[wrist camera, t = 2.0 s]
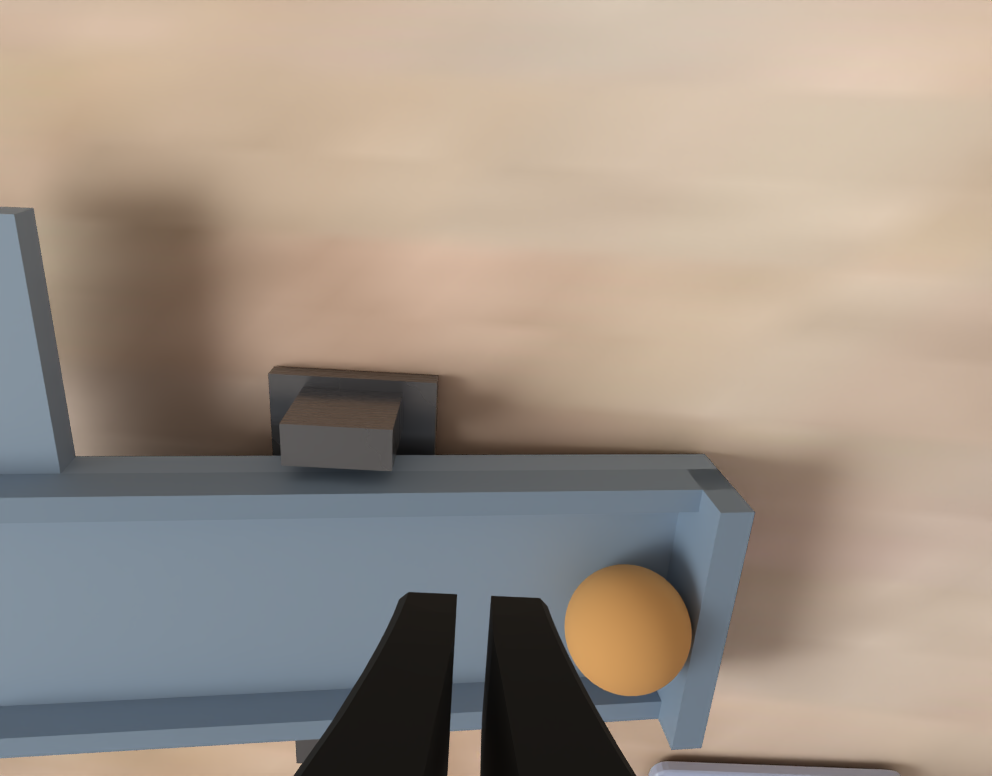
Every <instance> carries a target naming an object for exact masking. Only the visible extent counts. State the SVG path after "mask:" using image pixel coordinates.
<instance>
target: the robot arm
mask: <svg viewBox="0 0 992 776" xmlns="http://www.w3.org/2000/svg"><path fill="white" fill-rule="evenodd" d="M456 609H457V594H443V593H421V592H408V593H406V594H405V595H404V596H403V597H401V598H400V599H399V601H398V603H397V606H396V609H395V611H394V613H393V616H392V618H391V620H390V622H389V624H388V626H387V628H386V630H385V632H384V634H383V636H382V638H381V640H380V642H379V644H378V646H377V648H376V649H375V651H374V653H373V655H372V657H371V658H370V660H369V662H368V664H367V665H366V667H365V669H364V671H363V672H362V674H361V676H360V677H359V679H358V680H357V682H356V684H355V685H354V687H353V688H352V690H351V692H350V693H349V695H348V696H347V698H346V700H345V701H344V703H343V704H342V706H341V708H340V709H339V711H338V712H337V714H336V716H335V717H334V719H333V720H332V722H331V723H330V725H329V726H328V728H327V729H326V731H325V732H324V734H323V735H322V737H321V738H320V739H319V741H318V742H317V744H316V745H315V746H314V748H313V749H312V751H311V752H310V753H309V755H308V756H307V758H306V759H305V760H304V762H303V763H302V765H301V766H300V767H299V769H298V770H297V772H296V773H295V774H294V776H447V771H448V754H449V737H450V720H451V702H452V683H453V664H454V646H455V627H456ZM480 776H636V774H635V773H634V771H633V770H632V768H631V766H630V765H629V763H628V762H627V760H626V758H625V757H624V755H623V753H622V752H621V750H620V749H619V747H618V745H617V744H616V742H615V740H614V738H613V737H612V735H611V733H610V731H609V730H608V728H607V726H606V724H605V723H604V721H603V719H602V717H601V716H600V714H599V712H598V710H597V709H596V707H595V705H594V703H593V702H592V700H591V698H590V696H589V694H588V692H587V691H586V689H585V687H584V685H583V683H582V681H581V679H580V677H579V675H578V673H577V671H576V669H575V667H574V665H573V663H572V661H571V659H570V657H569V655H568V653H567V651H566V649H565V647H564V645H563V642H562V640H561V638H560V636H559V634H558V631H557V629H556V626H555V624H554V622H553V619H552V617H551V614H550V611H549V608H548V606H547V605H546V604H545V603H544V602H543V601H542V600H541V598H530V597H509V596H491V603H490V617H489V630H488V644H487V657H486V670H485V684H484V697H483V710H482V730H481V772H480ZM649 776H901V775H900V774H899V773H898V772H896V771H893V770H884V769H858V768H832V767H806V766H780V765H754V764H728V763H702V762H676V761H664V762H659V763H657V764H655V765H654V766H653V767H652V768H651V770H650V772H649Z"/></svg>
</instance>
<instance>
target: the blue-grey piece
mask: <svg viewBox="0 0 992 776" xmlns="http://www.w3.org/2000/svg"><path fill="white" fill-rule="evenodd" d="M754 514H755V512H754V511H753V509H752V508H751V507H750V506H749V505H748V504H747V502H746V501H745V500H744V499H743V498H742V497H741V496H740V494H739V493H738V492H737V491H736V490H735V489H734V487H733V486H732V485H731V484H730V483H729V482H728V481H727V479H726V478H725V477H724V476H723V475H722V474H721V472H720V471H719V470H718V469H717V468H716V467H715V466H714V464H713V463H712V462H711V461H710V460H709V459H708V457H707V456H706V455H705V454H589V455H396V458H395V462H394V466H393V470H392V471H376V470H357V469H337V468H318V467H298V466H281V456H75V450H74V445H73V439H72V433H71V427H70V421H69V415H68V409H67V403H66V397H65V391H64V386H63V380H62V374H61V368H60V362H59V356H58V350H57V344H56V338H55V332H54V327H53V321H52V315H51V309H50V303H49V297H48V291H47V285H46V279H45V273H44V268H43V262H42V256H41V250H40V244H39V238H38V232H37V226H36V220H35V214H34V209H33V208H18V207H0V758H12V757H29V756H45V755H62V754H79V753H95V752H112V751H129V750H145V749H162V748H179V747H195V746H212V745H229V744H245V743H262V742H279V741H295V740H312V739H320V738H321V737H322V735H323V734H324V732H325V731H326V729H327V728H328V726H329V725H330V723H331V722H332V720H333V719H334V717H335V716H336V714H337V712H338V711H339V709H340V708H341V706H342V704H343V703H344V701H345V700H346V698H347V696H348V695H349V693H350V692H351V690H352V688H353V687H354V685H355V684H356V682H357V680H358V679H359V677H360V676H361V674H362V672H363V671H364V669H365V667H366V665H367V664H368V662H369V660H370V658H371V657H372V655H373V653H374V651H375V649H376V648H377V646H378V644H379V642H380V640H381V638H382V636H383V634H384V632H385V630H386V628H387V626H388V624H389V622H390V620H391V618H392V616H393V613H394V611H395V609H396V606H397V603H398V601H399V599H400V598H401V597H403V596H404V595H405V594H406V593H408V592H421V593H443V594H457V609H456V627H455V646H454V664H453V683H452V702H451V720H450V731H462V730H479V729H482V710H483V697H484V684H485V670H486V657H487V644H488V630H489V617H490V603H491V596H509V597H530V598H541V600H542V601H543V602H544V603H545V604H546V605H547V606H548V608H549V611H550V614H551V617H552V619H553V622H554V624H555V626H556V629H557V631H558V634H559V636H560V638H561V640H562V642H563V645H564V647H565V649H566V651H567V653H568V655H569V657H570V659H571V661H572V663H573V665H574V667H575V669H576V671H577V673H578V675H579V677H580V679H581V681H582V683H583V685H584V687H585V689H586V691H587V692H588V694H589V696H590V698H591V700H592V702H593V703H594V705H595V707H596V709H597V710H598V712H599V714H600V716H601V717H602V719H603V721H604V722H612V721H629V720H645V719H659V722H660V724H661V726H662V729H663V731H664V733H665V736H666V738H667V740H668V743H669V745H670V747H671V750H678V749H693V748H701V747H702V743H703V738H704V734H705V730H706V725H707V721H708V716H709V712H710V708H711V703H712V699H713V694H714V690H715V686H716V681H717V677H718V673H719V668H720V664H721V659H722V655H723V651H724V646H725V642H726V637H727V633H728V629H729V624H730V620H731V615H732V611H733V607H734V602H735V598H736V593H737V589H738V585H739V580H740V576H741V571H742V567H743V563H744V558H745V554H746V550H747V545H748V541H749V536H750V532H751V528H752V523H753V519H754ZM618 564H630V565H637V566H641V567H644V568H647V569H650V570H652V571H654V572H656V573H657V574H659V575H661V576H662V577H663V578H665V579H666V580H667V581H668V582H669V583H670V584H671V585H672V586H673V587H674V588H675V589H676V590H677V592H678V593H679V595H680V596H681V598H682V599H683V601H684V603H685V605H686V608H687V610H688V613H689V617H690V621H691V629H692V639H691V647H690V651H689V654H688V657H687V660H686V662H685V664H684V666H683V668H682V669H681V671H680V672H679V673H678V675H677V676H676V677H675V678H674V679H673V680H672V681H671V682H670V683H668V684H667V685H666V686H664V687H663V688H661V689H659V690H657V691H655V692H653V693H650V694H646V695H641V696H623V695H618V694H614V693H611V692H608V691H606V690H603V689H602V688H600V687H598V686H597V685H595V684H593V683H592V682H591V681H590V680H589V679H588V678H587V677H585V676H584V675H583V673H582V672H581V671H580V670H579V668H578V667H577V666H576V664H575V662H574V661H573V659H572V657H571V655H570V652H569V650H568V647H567V643H566V638H565V627H564V625H565V615H566V610H567V607H568V604H569V601H570V599H571V597H572V595H573V593H574V591H575V590H576V589H577V587H578V586H579V585H580V584H581V583H582V582H583V581H584V580H585V579H586V578H587V577H588V576H590V575H591V574H593V573H594V572H596V571H598V570H600V569H602V568H605V567H608V566H612V565H618Z"/></svg>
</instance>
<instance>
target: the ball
mask: <svg viewBox="0 0 992 776" xmlns="http://www.w3.org/2000/svg"><path fill="white" fill-rule="evenodd" d="M564 627H565V638H566V643H567V647H568V650H569V652H570V655H571V657H572V659H573V661H574V662H575V664H576V666H577V667H578V668H579V670H580V671H581V672H582V673H583V675H584V676H585V677H587V678H588V679H589V680H590V681H591V682H592V683H593V684H595V685H597V686H598V687H600V688H602V689H603V690H606V691H608V692H611V693H614V694H618V695H623V696H641V695H646V694H650V693H653V692H655V691H657V690H659V689H661V688H663V687H664V686H666V685H667V684H668V683H670V682H671V681H672V680H673V679H674V678H675V677H676V676H677V675H678V673H679V672H680V671H681V669H682V668H683V666H684V664H685V662H686V660H687V657H688V654H689V651H690V647H691V639H692V629H691V621H690V617H689V613H688V610H687V608H686V605H685V603H684V601H683V599H682V598H681V596H680V595H679V593H678V592H677V590H676V589H675V588H674V587H673V586H672V585H671V584H670V583H669V582H668V581H667V580H666V579H665V578H663V577H662V576H661V575H659V574H657V573H656V572H654V571H652V570H650V569H647V568H644V567H641V566H637V565H630V564H618V565H612V566H608V567H605V568H602V569H600V570H598V571H596V572H594V573H593V574H591V575H590V576H588V577H587V578H586V579H585V580H584V581H583V582H582V583H581V584H580V585H579V586H578V587H577V589H576V590H575V591H574V593H573V595H572V597H571V599H570V601H569V604H568V607H567V610H566V615H565V625H564Z"/></svg>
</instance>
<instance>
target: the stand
mask: <svg viewBox="0 0 992 776" xmlns="http://www.w3.org/2000/svg"><path fill="white" fill-rule="evenodd" d="M268 376H269V394H270V412H271V430H272V448H273V456H281V466H298V467H318V468H337V469H357V470H376V471H392V470H393V466H394V462H395V458H396V455H435V451H436V424H437V397H438V376H436V375H418V374H400V373H383V372H365V371H347V370H329V369H311V368H293V367H275V366H274V367H273V368H272V370H271V371H270V372H269V373H268ZM318 741H319V739H312V740H296V759H297V763H303V762H304V760H305V759H306V758H307V756H308V755H309V753H310V752H311V751H312V749H313V748H314V746H315V745H316V744H317V742H318Z"/></svg>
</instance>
